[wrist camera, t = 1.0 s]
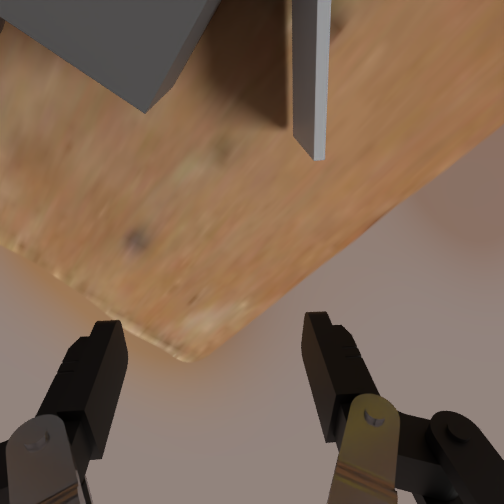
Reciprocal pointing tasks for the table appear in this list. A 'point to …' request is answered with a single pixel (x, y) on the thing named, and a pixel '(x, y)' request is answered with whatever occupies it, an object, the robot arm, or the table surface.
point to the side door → (310, 73)
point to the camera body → (117, 39)
